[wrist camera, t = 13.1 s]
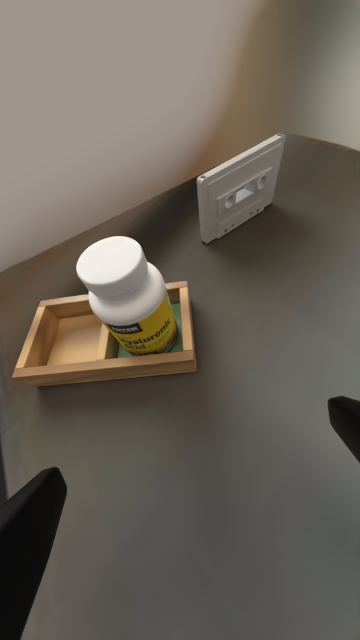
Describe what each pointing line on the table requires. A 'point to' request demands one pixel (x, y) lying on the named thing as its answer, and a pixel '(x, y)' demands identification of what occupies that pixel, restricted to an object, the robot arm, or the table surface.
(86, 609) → the table surface
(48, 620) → the table surface
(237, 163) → the cassette
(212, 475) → the table surface
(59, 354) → the tray
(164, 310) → the supplement bottle
